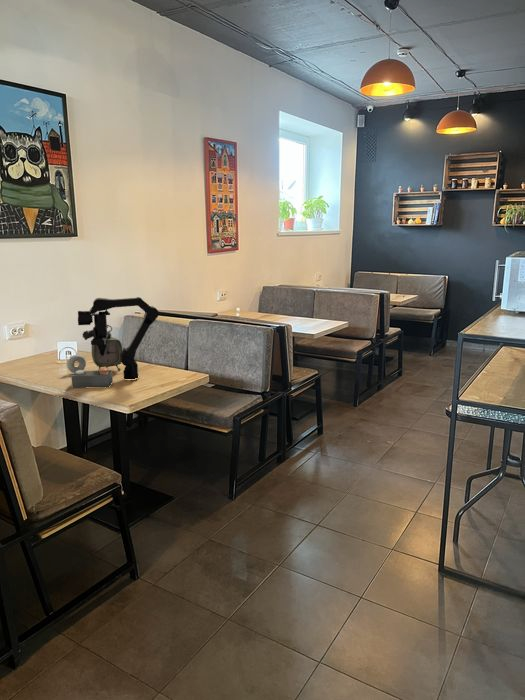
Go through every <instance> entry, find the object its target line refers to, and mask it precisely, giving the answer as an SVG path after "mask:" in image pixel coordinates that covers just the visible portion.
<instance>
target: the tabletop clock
mask: <svg viewBox="0 0 525 700" xmlns="http://www.w3.org/2000/svg"><path fill="white" fill-rule="evenodd" d="M107 326H108V328H110V330H107V332H110V333H111V332H112V331H113V327H112V326H111V325H109V324H107ZM105 339H106V340H109V343H108V345H107V348H106V351H105V354H104V356H101V354H100V351H99V348H98V346H97V345H91V358H92V361H93V364H95V366H96V367H98V370H97V371H99V369H100V368H108V369H109V367H116V369H117V372H120V371H121V369H122V368H120V367H119V365H121V364H122V362H121V359H120V357H121V355H120V354H121V353H122V351H123V345H122V342H121V340H120V339H118V338H117V337H112V336H111V339H109V338H105Z"/></svg>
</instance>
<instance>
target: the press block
mask: <svg viewBox="0 0 525 700" xmlns="http://www.w3.org/2000/svg"><path fill="white" fill-rule="evenodd" d="M84 371H85V375H76V373H73V374H72V375H71V388H72V389H87V388H86V387H106V388H110V387H111V386H112V384H113V383H112V382H113V381H114V380H113V379H114V378H113V370H112V369H111V370H109V371H108V374H100V372H99V371H98V370H84ZM111 383H112V384H111ZM110 385H111V386H110ZM109 386H110V387H109Z"/></svg>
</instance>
